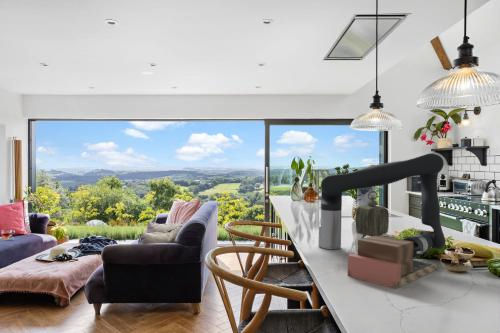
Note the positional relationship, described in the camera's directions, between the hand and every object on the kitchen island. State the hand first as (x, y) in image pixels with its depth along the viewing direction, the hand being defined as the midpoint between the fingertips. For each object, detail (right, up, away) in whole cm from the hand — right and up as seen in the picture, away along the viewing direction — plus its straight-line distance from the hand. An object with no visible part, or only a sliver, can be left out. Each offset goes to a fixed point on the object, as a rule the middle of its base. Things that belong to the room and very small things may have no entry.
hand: (393, 253), depth 133 cm
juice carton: (+14, -6, +77) cm, 79 cm away
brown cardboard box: (-4, -5, -4) cm, 8 cm away
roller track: (0, -7, 0) cm, 7 cm away
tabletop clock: (+9, -7, +51) cm, 52 cm away
